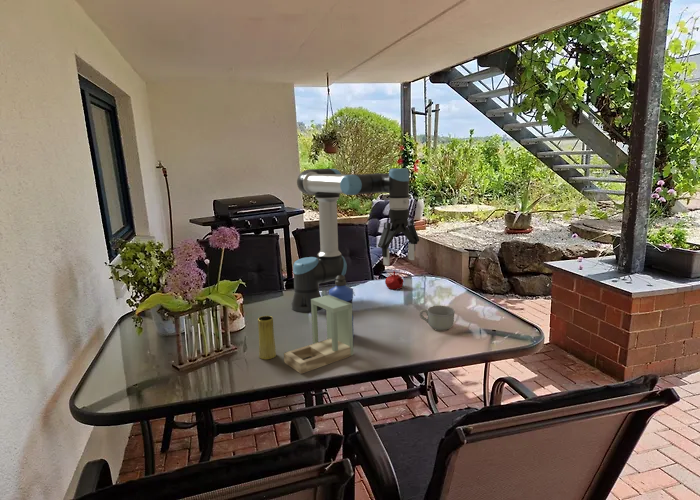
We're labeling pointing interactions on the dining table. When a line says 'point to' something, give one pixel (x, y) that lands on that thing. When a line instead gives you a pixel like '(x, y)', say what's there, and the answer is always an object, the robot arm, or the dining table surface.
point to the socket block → (316, 355)
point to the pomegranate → (394, 281)
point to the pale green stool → (334, 320)
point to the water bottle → (342, 291)
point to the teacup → (439, 317)
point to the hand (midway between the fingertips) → (399, 262)
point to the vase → (266, 338)
